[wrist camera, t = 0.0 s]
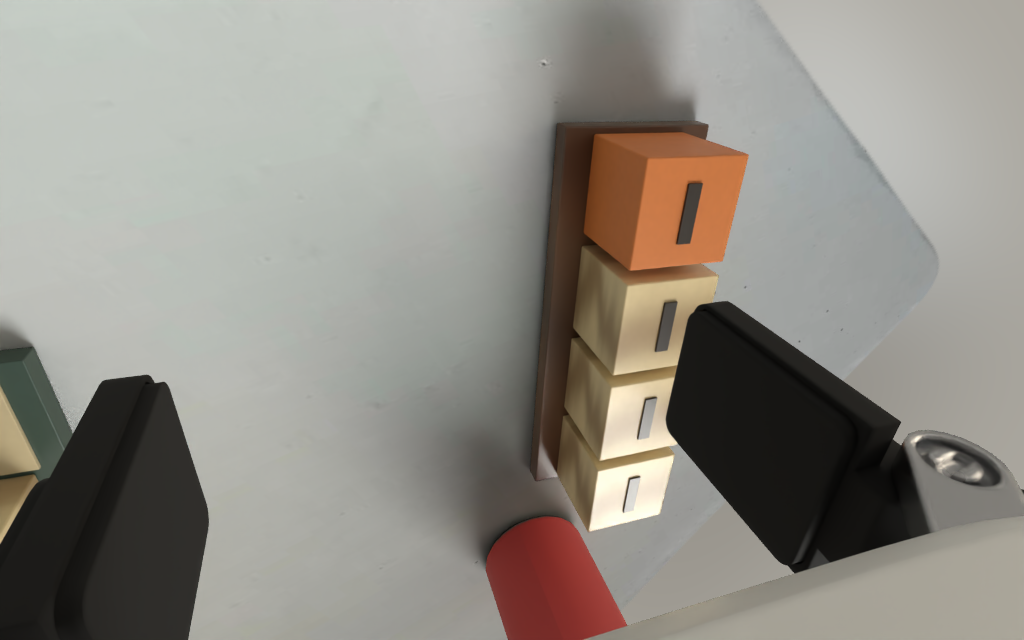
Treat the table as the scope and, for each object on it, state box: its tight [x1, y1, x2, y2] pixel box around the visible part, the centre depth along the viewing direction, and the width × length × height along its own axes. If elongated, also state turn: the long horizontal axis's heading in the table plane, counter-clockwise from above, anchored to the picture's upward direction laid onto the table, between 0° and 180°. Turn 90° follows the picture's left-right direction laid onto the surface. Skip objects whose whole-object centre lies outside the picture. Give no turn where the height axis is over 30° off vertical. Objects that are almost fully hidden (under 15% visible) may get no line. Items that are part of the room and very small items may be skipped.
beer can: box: [486, 516, 627, 640], centre depth 32 cm, size 7×7×12 cm
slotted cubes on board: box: [530, 121, 719, 532], centre depth 27 cm, size 20×7×6 cm, turn 178°
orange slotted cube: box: [584, 132, 748, 271], centre depth 23 cm, size 4×4×4 cm
